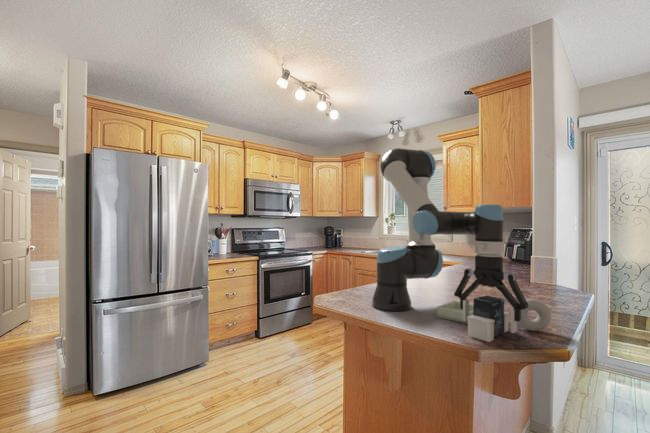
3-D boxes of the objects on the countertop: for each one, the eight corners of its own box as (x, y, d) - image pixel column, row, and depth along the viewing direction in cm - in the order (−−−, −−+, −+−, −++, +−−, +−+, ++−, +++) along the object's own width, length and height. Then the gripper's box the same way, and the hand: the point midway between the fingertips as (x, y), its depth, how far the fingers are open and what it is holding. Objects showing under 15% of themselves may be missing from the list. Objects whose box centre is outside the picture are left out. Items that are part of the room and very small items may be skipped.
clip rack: (466, 336, 90) (466, 317, 90) (487, 325, 100) (487, 307, 101) (489, 342, 85) (489, 322, 85) (509, 330, 96) (509, 312, 96)
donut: (516, 331, 95) (516, 298, 95) (512, 327, 98) (512, 296, 99) (553, 334, 93) (553, 301, 93) (547, 330, 96) (547, 298, 96)
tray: (437, 316, 109) (437, 306, 109) (454, 310, 118) (454, 300, 118) (468, 324, 101) (468, 313, 101) (484, 316, 109) (484, 306, 110)
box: (491, 339, 88) (491, 302, 89) (472, 333, 93) (472, 297, 93) (504, 333, 93) (505, 298, 93) (486, 328, 97) (486, 294, 98)
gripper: (443, 252, 100) (443, 318, 100) (533, 260, 82) (533, 340, 81) (454, 251, 105) (454, 313, 105) (541, 258, 87) (541, 334, 86)
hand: (488, 325), depth 93 cm, fingers open, 13 cm apart
